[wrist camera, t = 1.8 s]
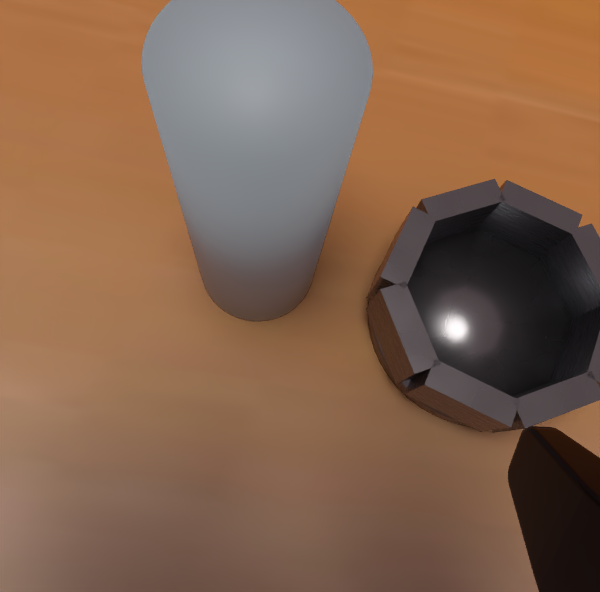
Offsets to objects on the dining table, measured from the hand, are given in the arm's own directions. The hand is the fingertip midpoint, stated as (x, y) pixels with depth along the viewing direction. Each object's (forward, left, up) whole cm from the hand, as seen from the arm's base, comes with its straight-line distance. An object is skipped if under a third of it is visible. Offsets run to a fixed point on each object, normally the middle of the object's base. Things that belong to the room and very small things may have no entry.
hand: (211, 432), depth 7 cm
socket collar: (+2, -11, -13) cm, 17 cm away
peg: (+7, -3, -13) cm, 15 cm away
